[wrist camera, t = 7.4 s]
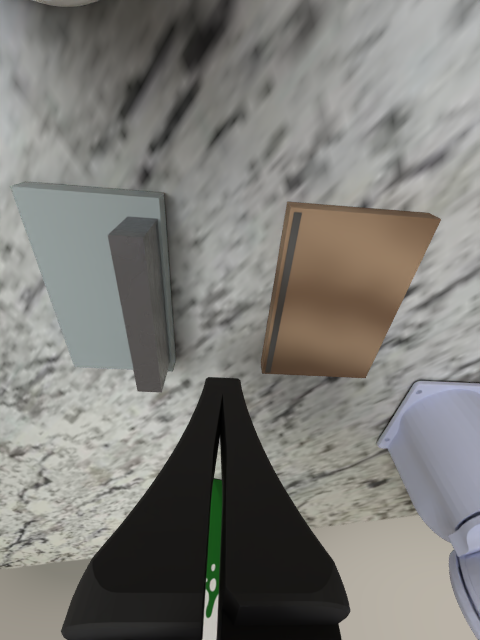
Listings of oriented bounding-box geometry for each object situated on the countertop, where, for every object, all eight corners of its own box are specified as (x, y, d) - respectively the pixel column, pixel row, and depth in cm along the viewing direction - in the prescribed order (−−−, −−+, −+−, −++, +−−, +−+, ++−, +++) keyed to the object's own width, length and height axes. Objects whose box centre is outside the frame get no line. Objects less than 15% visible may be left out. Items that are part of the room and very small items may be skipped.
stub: (175, 359, 22) (165, 402, 19) (81, 355, 22) (54, 398, 18) (163, 192, 15) (143, 213, 12) (25, 181, 15) (-36, 200, 11)
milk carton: (187, 505, 37) (149, 808, 21) (208, 472, 32) (180, 834, 16) (249, 514, 39) (259, 798, 23) (278, 484, 34) (317, 818, 18)
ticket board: (359, 367, 23) (365, 379, 22) (260, 362, 22) (262, 374, 21) (428, 213, 16) (442, 219, 15) (287, 201, 16) (291, 207, 14)
